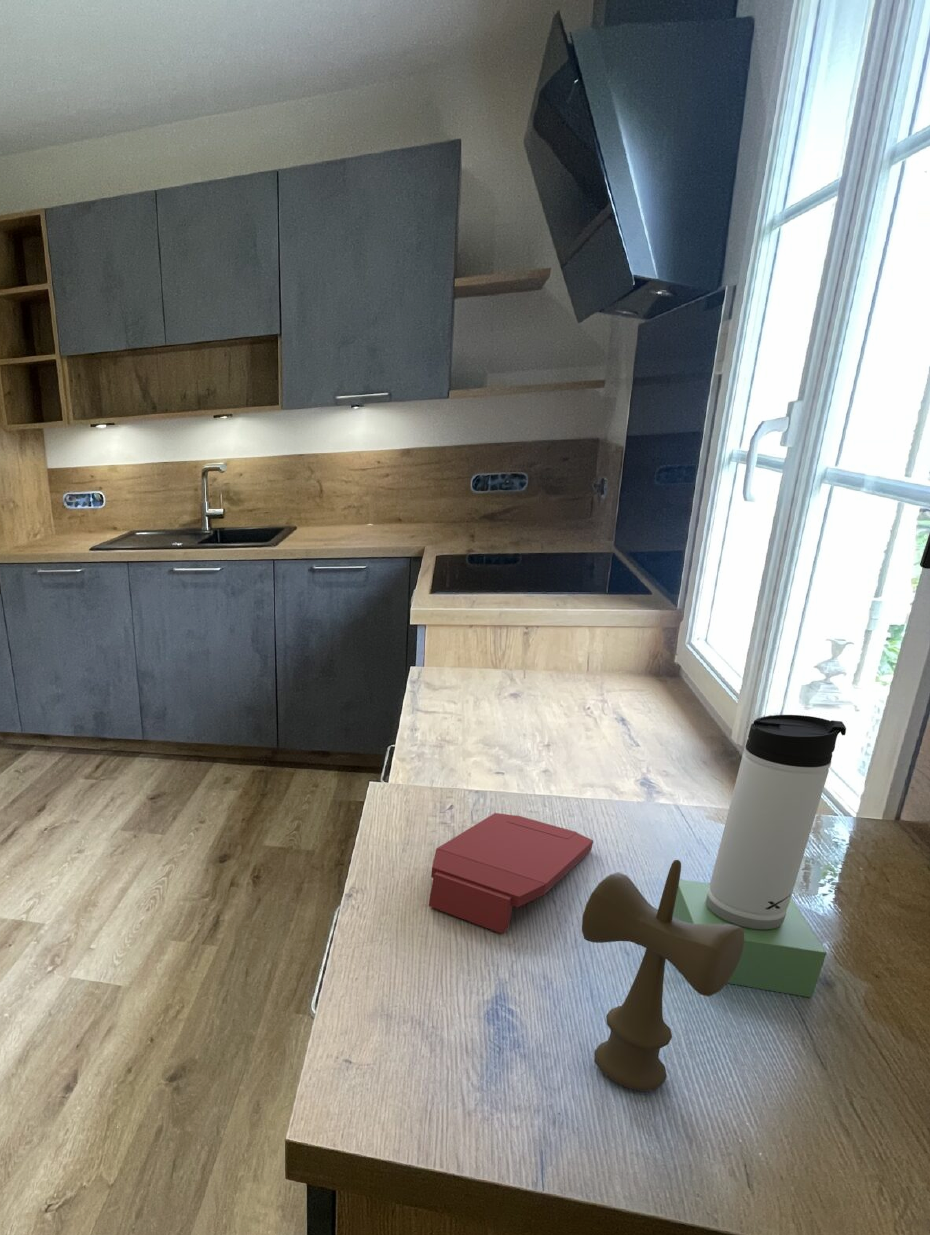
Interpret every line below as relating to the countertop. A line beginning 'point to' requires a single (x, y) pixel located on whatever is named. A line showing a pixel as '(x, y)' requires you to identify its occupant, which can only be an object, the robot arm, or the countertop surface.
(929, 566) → the robot arm
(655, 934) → the kendama
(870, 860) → the countertop surface
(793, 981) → the green block
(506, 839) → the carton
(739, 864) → the travel mug
